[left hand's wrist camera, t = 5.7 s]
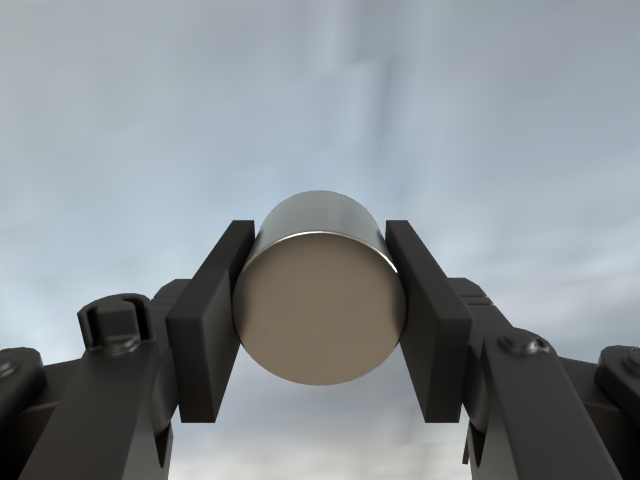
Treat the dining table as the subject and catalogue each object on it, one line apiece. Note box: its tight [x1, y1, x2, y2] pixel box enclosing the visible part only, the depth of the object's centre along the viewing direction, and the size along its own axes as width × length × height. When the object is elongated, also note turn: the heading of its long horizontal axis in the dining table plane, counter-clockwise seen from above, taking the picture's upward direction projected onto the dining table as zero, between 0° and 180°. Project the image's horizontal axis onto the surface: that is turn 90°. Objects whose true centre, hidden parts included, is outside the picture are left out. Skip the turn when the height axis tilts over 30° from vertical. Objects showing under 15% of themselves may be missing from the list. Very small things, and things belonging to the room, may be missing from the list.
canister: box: [231, 190, 408, 385], centre depth 12 cm, size 5×5×4 cm
